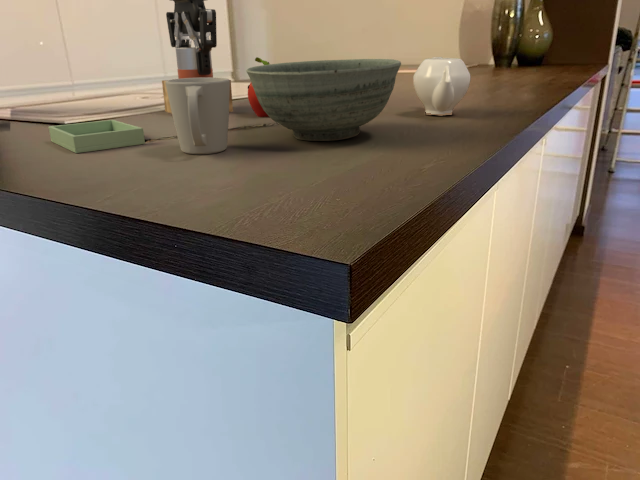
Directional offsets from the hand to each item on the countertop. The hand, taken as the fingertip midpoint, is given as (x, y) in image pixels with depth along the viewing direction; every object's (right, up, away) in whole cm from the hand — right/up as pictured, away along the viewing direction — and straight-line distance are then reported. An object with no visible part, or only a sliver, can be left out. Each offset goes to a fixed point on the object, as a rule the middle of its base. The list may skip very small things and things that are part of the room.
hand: (195, 73), depth 96 cm
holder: (0, -7, +3) cm, 7 cm away
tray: (-8, -16, -22) cm, 29 cm away
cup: (+8, -19, -29) cm, 36 cm away
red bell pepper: (+13, -9, -3) cm, 16 cm away
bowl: (+23, -15, -20) cm, 34 cm away
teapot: (+43, -8, -2) cm, 44 cm away
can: (0, -6, +2) cm, 7 cm away
